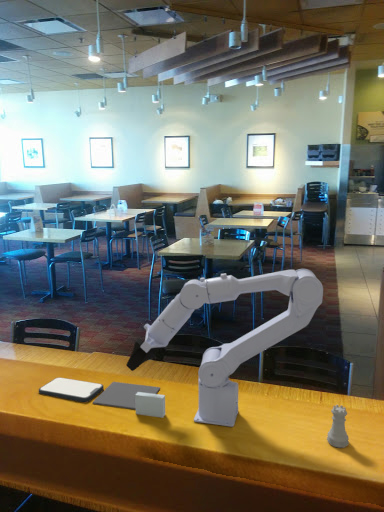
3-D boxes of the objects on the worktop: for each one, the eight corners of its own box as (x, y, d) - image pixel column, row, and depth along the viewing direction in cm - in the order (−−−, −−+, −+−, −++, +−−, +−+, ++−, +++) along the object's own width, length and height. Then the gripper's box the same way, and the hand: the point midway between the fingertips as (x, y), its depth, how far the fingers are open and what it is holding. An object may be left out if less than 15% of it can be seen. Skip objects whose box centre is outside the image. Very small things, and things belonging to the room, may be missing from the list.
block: (165, 414, 100) (164, 395, 99) (163, 418, 99) (162, 398, 98) (138, 410, 102) (137, 391, 101) (135, 414, 100) (135, 394, 100)
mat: (160, 388, 113) (160, 387, 113) (144, 410, 102) (144, 409, 102) (113, 383, 117) (113, 381, 117) (92, 403, 105) (92, 402, 105)
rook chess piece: (334, 434, 92) (336, 400, 90) (353, 443, 88) (355, 408, 87) (322, 441, 89) (324, 406, 88) (340, 451, 85) (342, 415, 84)
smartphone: (36, 395, 111) (86, 404, 105) (36, 389, 111) (86, 398, 105) (57, 381, 119) (105, 389, 114) (57, 376, 119) (105, 384, 113)
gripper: (166, 304, 105) (134, 343, 108) (147, 317, 91) (111, 360, 94) (186, 323, 104) (154, 361, 107) (170, 338, 90) (133, 382, 93)
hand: (135, 362), depth 100 cm, fingers open, 7 cm apart
